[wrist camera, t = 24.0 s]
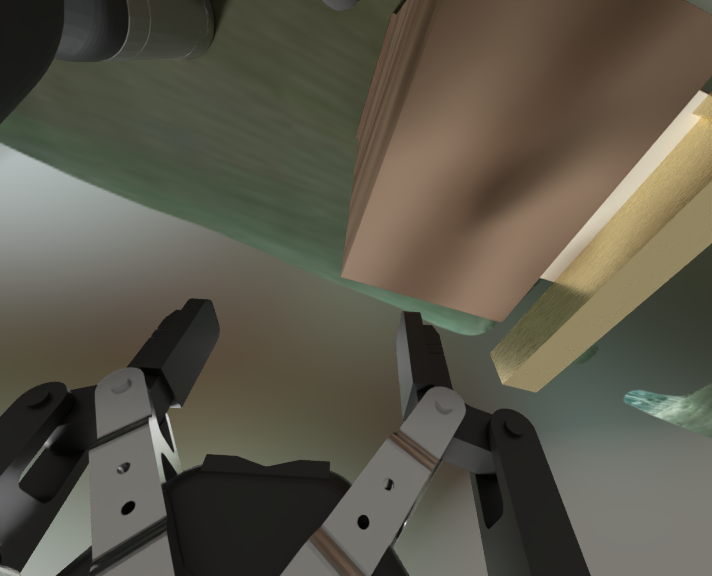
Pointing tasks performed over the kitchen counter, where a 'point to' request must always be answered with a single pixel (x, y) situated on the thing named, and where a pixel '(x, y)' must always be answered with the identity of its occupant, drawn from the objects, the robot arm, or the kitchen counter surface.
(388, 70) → the stepped wooden block
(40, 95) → the kitchen counter surface
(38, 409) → the robot arm
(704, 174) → the tan wooden bar
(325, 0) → the bottle
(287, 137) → the kitchen counter surface
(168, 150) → the kitchen counter surface
